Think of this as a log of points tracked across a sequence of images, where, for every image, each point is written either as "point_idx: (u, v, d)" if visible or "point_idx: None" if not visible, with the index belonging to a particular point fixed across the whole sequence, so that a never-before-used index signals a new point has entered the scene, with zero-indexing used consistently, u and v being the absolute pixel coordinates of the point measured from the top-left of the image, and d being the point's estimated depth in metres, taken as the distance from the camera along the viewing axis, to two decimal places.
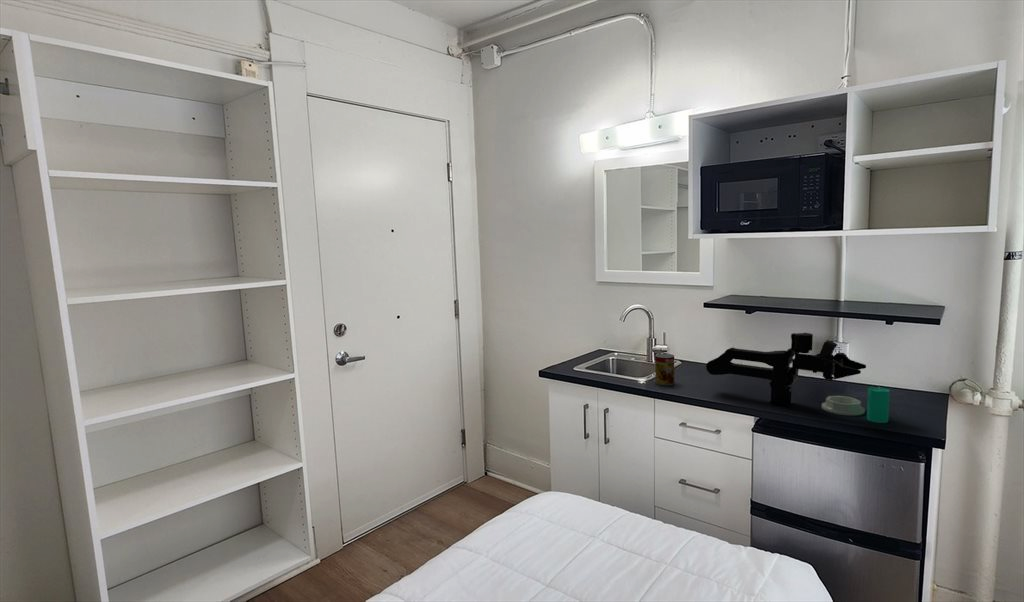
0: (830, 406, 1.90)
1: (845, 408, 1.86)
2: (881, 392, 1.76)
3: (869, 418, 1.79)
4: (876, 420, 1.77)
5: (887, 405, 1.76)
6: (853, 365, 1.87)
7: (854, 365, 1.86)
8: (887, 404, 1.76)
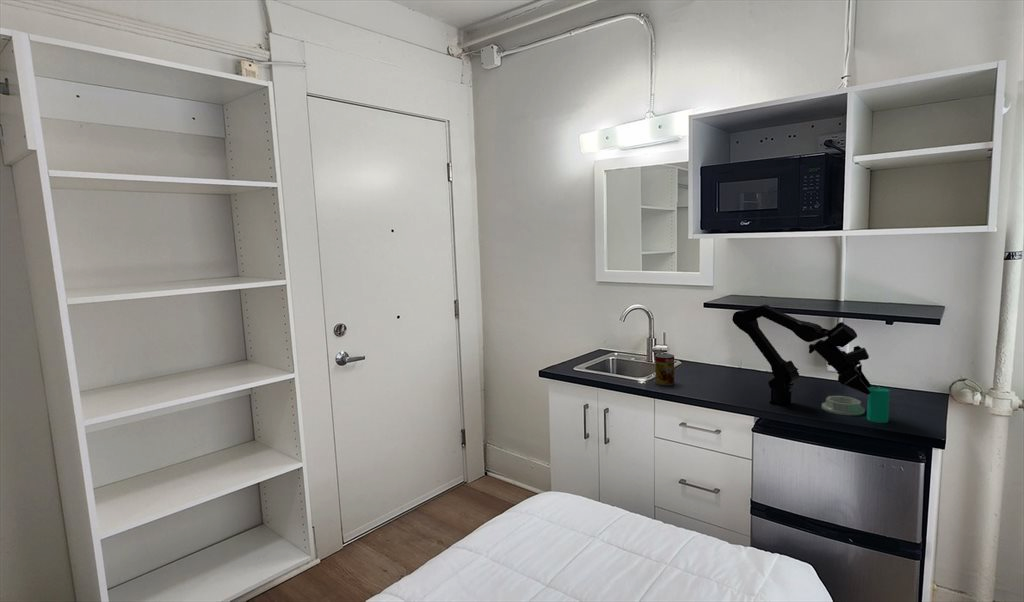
0: (830, 406, 1.90)
1: (845, 408, 1.86)
2: (881, 392, 1.76)
3: (869, 418, 1.79)
4: (876, 420, 1.77)
5: (887, 405, 1.76)
6: (860, 378, 1.85)
7: (861, 378, 1.85)
8: (887, 404, 1.76)
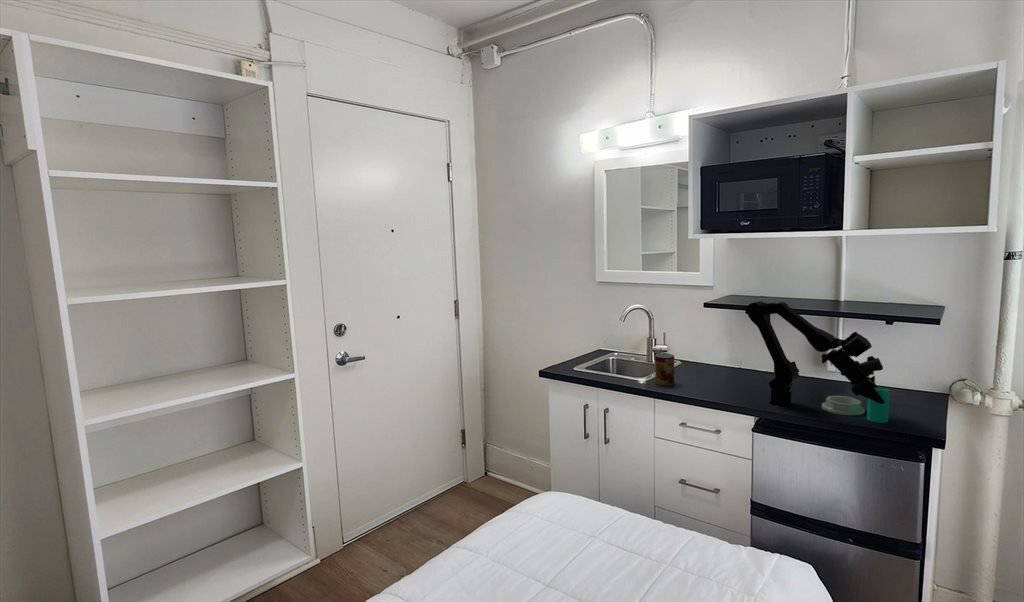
0: (830, 406, 1.90)
1: (845, 408, 1.86)
2: (881, 392, 1.76)
3: (869, 418, 1.79)
4: (876, 420, 1.77)
5: (887, 405, 1.76)
6: None
7: None
8: (887, 404, 1.76)
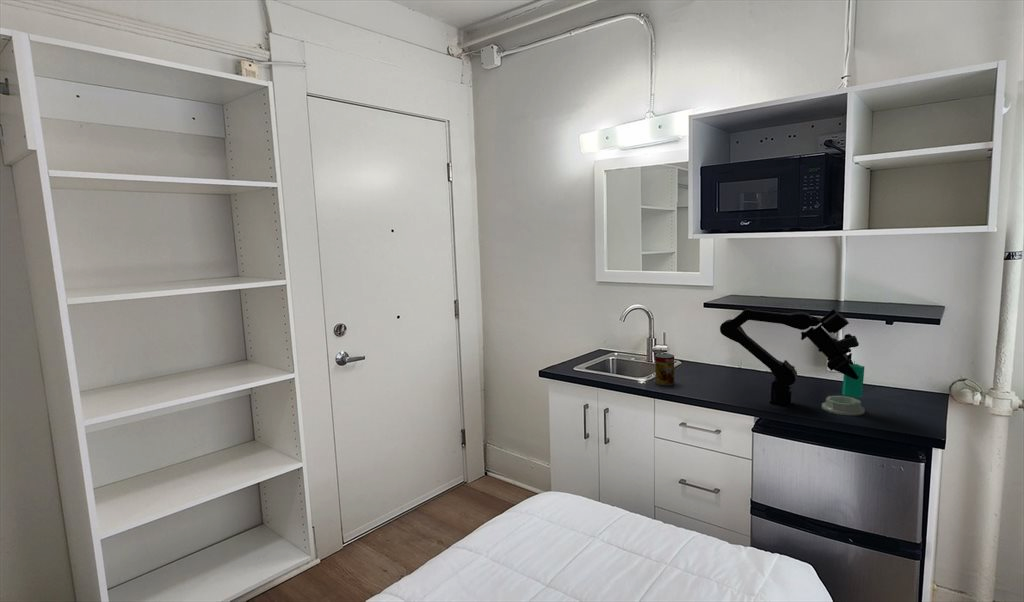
0: (830, 406, 1.90)
1: (845, 408, 1.86)
2: (856, 368, 1.82)
3: (844, 393, 1.86)
4: (850, 395, 1.84)
5: (861, 381, 1.83)
6: None
7: None
8: (861, 380, 1.83)
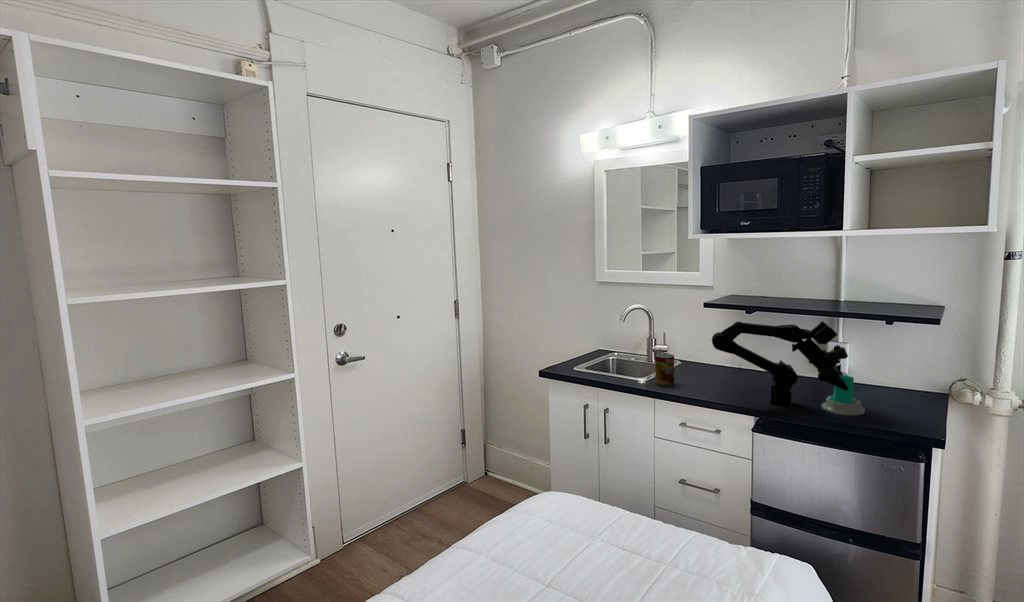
0: (830, 406, 1.90)
1: (845, 408, 1.86)
2: (845, 379, 1.87)
3: None
4: None
5: (851, 391, 1.87)
6: None
7: None
8: (850, 391, 1.87)
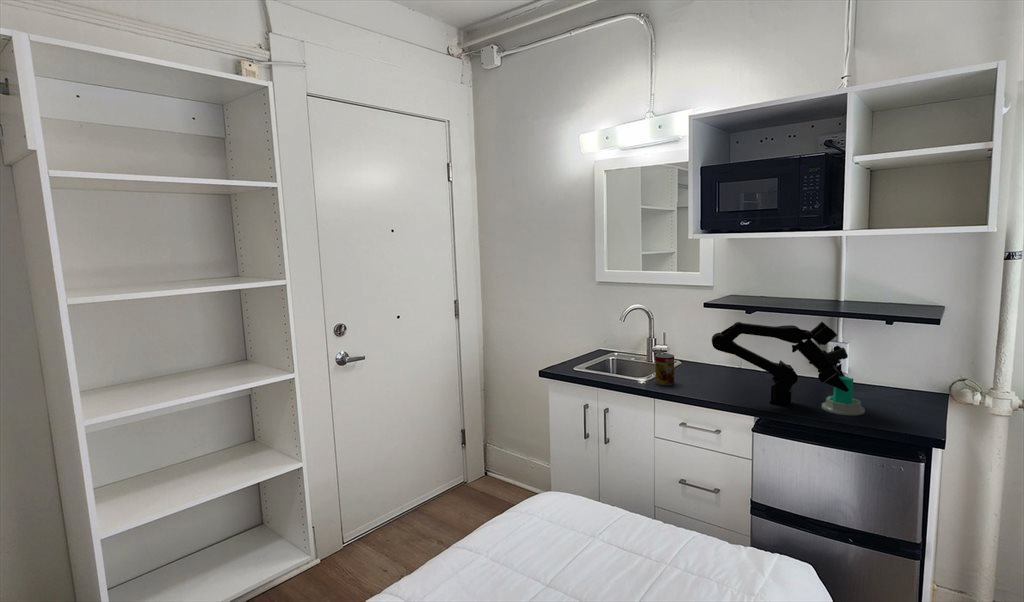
0: (830, 406, 1.90)
1: (845, 408, 1.86)
2: (845, 380, 1.87)
3: None
4: None
5: (851, 393, 1.87)
6: None
7: None
8: (850, 392, 1.87)
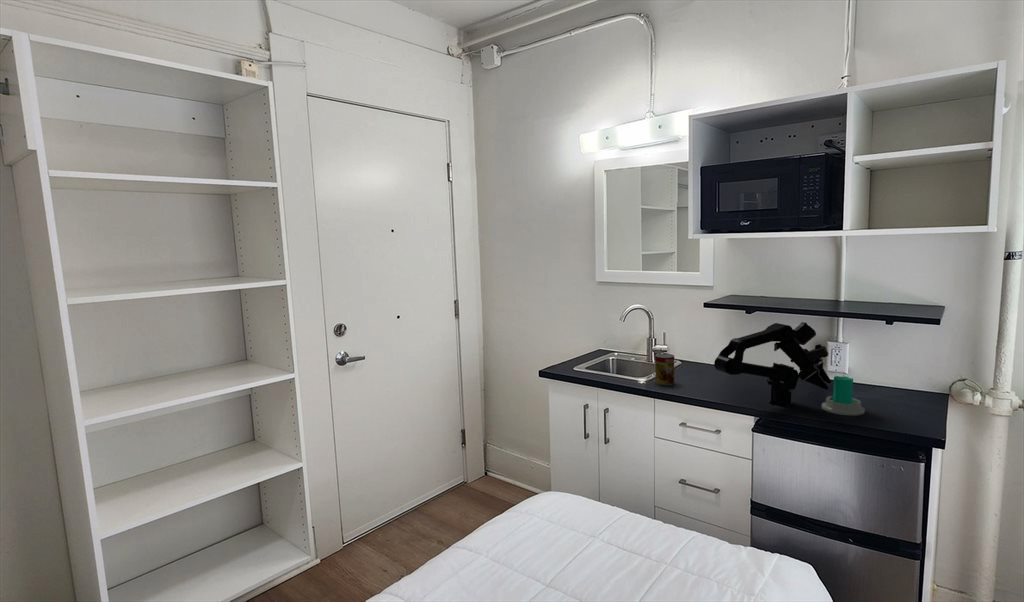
0: (830, 406, 1.90)
1: (845, 408, 1.86)
2: (845, 380, 1.87)
3: None
4: None
5: (851, 393, 1.87)
6: (822, 375, 1.97)
7: (823, 375, 1.97)
8: (850, 392, 1.87)
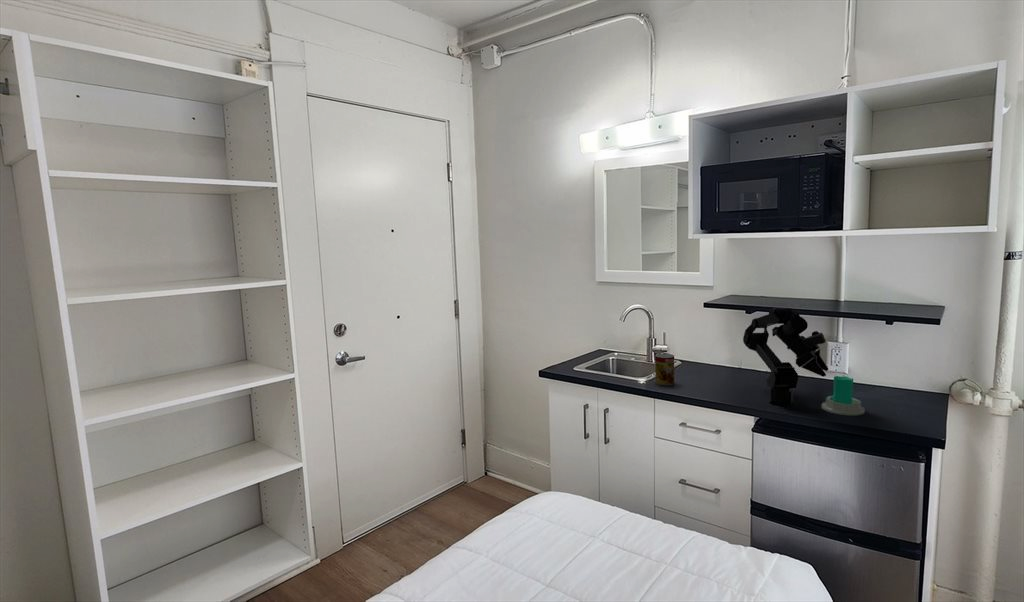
0: (830, 406, 1.90)
1: (845, 408, 1.86)
2: (845, 380, 1.87)
3: None
4: None
5: (851, 393, 1.87)
6: (818, 362, 1.94)
7: (819, 362, 1.94)
8: (850, 392, 1.87)
